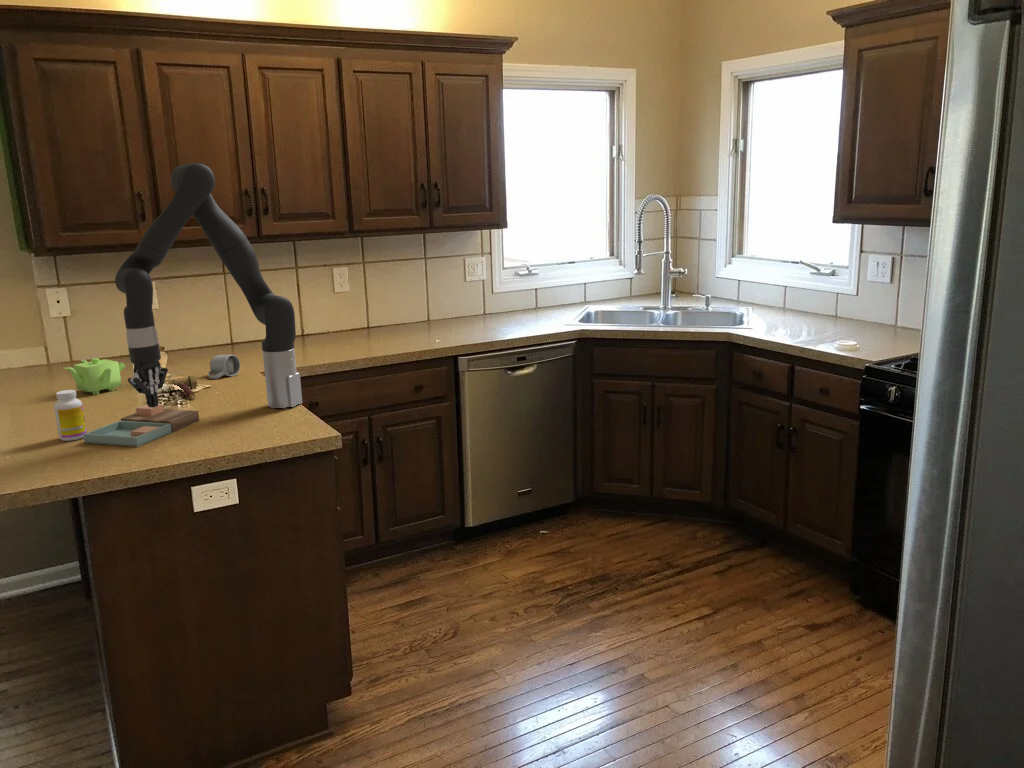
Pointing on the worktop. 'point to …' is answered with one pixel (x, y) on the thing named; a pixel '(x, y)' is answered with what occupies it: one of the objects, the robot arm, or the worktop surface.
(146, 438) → the tray
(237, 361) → the ceramic mug
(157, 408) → the tile
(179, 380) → the gavel
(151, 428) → the tile
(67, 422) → the supplement bottle
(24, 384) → the worktop surface
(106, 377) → the kettle
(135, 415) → the dark brown wooden board
